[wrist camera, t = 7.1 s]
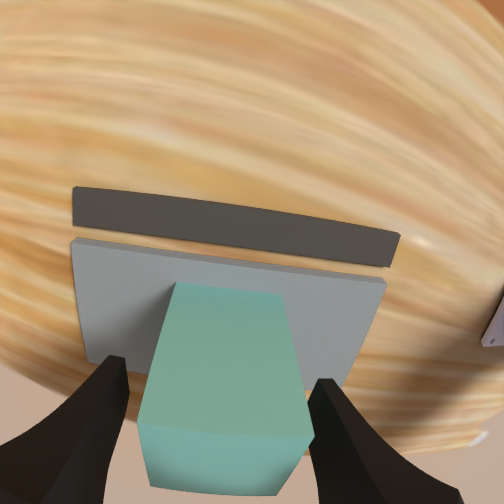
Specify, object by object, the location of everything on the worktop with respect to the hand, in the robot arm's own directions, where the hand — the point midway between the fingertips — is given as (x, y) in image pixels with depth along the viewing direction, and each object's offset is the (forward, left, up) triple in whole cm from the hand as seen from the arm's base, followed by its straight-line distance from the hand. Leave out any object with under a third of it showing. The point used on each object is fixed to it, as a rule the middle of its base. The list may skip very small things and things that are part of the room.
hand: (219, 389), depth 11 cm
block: (0, 0, -3) cm, 3 cm away
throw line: (0, -5, -4) cm, 6 cm away
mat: (0, 0, -4) cm, 4 cm away
